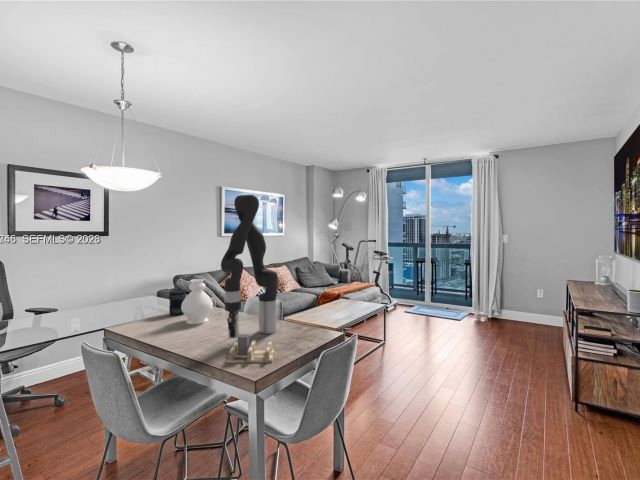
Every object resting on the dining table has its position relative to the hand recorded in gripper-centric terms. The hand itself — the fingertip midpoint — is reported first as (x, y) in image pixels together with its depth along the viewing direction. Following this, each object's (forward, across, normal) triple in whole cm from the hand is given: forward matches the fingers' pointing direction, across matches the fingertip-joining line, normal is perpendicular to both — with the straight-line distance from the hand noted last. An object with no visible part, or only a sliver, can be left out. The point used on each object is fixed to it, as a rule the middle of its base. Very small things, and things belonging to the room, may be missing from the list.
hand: (233, 335), depth 160 cm
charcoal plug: (+4, +13, +7) cm, 16 cm away
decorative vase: (+6, -42, -30) cm, 53 cm away
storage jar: (+6, -60, -48) cm, 77 cm away
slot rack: (+5, +14, +11) cm, 18 cm away
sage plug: (+1, 0, 0) cm, 1 cm away
